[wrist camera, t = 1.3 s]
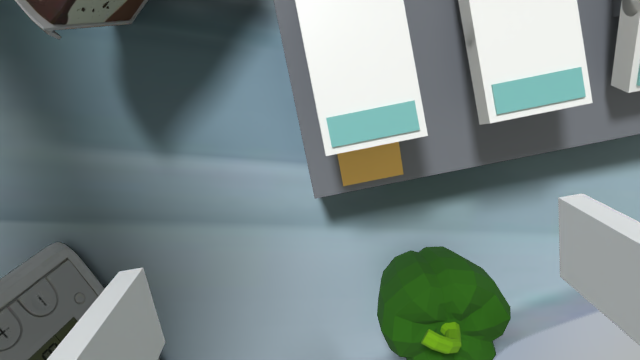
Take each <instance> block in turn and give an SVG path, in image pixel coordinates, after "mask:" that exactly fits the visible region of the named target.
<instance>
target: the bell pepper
mask: <svg viewBox="0 0 640 360" xmlns="http://www.w3.org/2000/svg"><path fill="white" fill-rule="evenodd" d="M377 316H378V320H379V323H380V327H381V331H382V333H383V335H384V337H385V339H386V341H387V343H388V345H389V347H390V349H391V350H392V351H393V352H395V353H396V354H397V355H399V356H400V357H406V359H407V360H493V358H494V357H495V355H496V352H495V347H494V344H493V340H495V339H497V338H498V337H500V336H501V335H503V333H504V331H505V329H506V327H507V325H508V323H509V321H510V318H511V317H510V306H509V304H508V303H507V301H506V300H505V298H504V296H503V295H502V293H501V292H500V290H499V288H498V287H497V285H496V284H495V282H494V281H493V280H492V278H491V277H490V276H489V275H488V274H487V273H486V272H485V271H484V270H483V269H482V268H481V267H479V266H477V265H476V264H474V263H472V262H470V261H469V260H467V259H465V258H463V257H461V256H460V255H458V254H456V253H454V252H452V251H451V250H449V249H446V248H444V247H426V248H423V249H422V250H421V251H420V252H419V253H418V252H414V251H408V252H406V253H404V254H401V255H399V256H397V257H395V258H394V259H393V260H392V261H391V263H390V264H389V265H388V266H387V268H386V269H385V270H384V271H383V275H382V278H381V285H380V292H379V299H378V311H377Z"/></svg>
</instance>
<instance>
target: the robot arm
mask: <svg viewBox="0 0 640 360" xmlns="http://www.w3.org/2000/svg"><path fill="white" fill-rule="evenodd" d="M558 202H559V251H560V277H561V278H562V279H563V280H565V281H566V282H567V283H568V284H569V285H570V286H572V287H573V288H574V289H575V290H576V291H577V292H578V293H580V294H581V295H582V296H583V297H584V298H585V299H586V300H588V301H589V302H590V303H591V304H592V305H593V306H595V307H596V308H597V309H598V310H599V311H600V312H601V313H603V314H604V315H605V316H606V317H607V318H609V319H610V320H611V321H612V322H613V323H614V324H615V325H616V326H618V327H619V328H620V329H621V330H622V331H623V332H624V333H626V334H627V335H628V336H629V337H630V338H631V339H633V340H634V341H635V342H636V343H637V344H638V345H639V346H640V222H638V221H636V220H634V219H632V218H630V217H628V216H626V215H624V214H622V213H620V212H618V211H616V210H614V209H612V208H610V207H609V206H607V205H605V204H603V203H601V202H599V201H597V200H595V199H593V198H591V197H589V196H587V195H585V194H577V195H571V196H565V197H559V198H558ZM165 343H166V342H165V339H164V335H163V332H162V329H161V325H160V322H159V319H158V315H157V312H156V309H155V305H154V302H153V299H152V295H151V292H150V288H149V285H148V282H147V278H146V275H145V272H144V268H137V269H131V270H125V271H119V272H118V273H117V275H116V276H115V277H114V278H113V280H112V281H111V282H110V283H109V284H108V286H107V287H106V288H105V289H104V290H103V292H102V293H101V294H100V295H99V297H98V298H97V299H96V300H95V301H94V303H93V304H92V305H91V306H90V308H89V309H88V310H87V311H86V312H85V314H84V315H83V316H82V317H81V318H80V320H79V321H78V322H77V323H76V325H75V326H74V327H73V328H72V329H71V331H70V332H69V333H68V334H67V336H66V337H65V338H64V339H63V340H62V342H61V343H60V344H59V345H58V346H57V348H56V349H55V350H54V351H53V353H52V354H51V355H50V356H49V357H48V359H47V360H158V358H159V356H160V354H161V351H162V349H163V347H164V345H165Z"/></svg>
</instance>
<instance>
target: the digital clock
mask: <svg viewBox="0 0 640 360" xmlns="http://www.w3.org/2000/svg"><path fill="white" fill-rule="evenodd" d="M103 290H104V287H103V286H102V285H101V284H100V282H99V281H98V280H97V278H96V277H95V276H94V275H93V273H92V272H91V271H90V270H89V268H88V267H87V266H86V265H85V263H84V262H83V261H82V260H81V259H80V257H79V256H78V255H77V254H76V253H75V252H74V251H73V250H72V249H70V248H69V247H68V246H66V245H65V244H63V243H61V242H56V243H53V244H51V245H49V246H47V247H46V248H44V249H42V250H41V251H40V252H38V253H37V254H35V255H34V256H33V257H31V258H30V259H28V260H27V261H25V262H24V263H23V264H21V265H20V266H18V267H17V268H16V269H14V270H13V271H11V272H10V273H8V274H7V275H6V276H4V277H3V278H1V279H0V360H47V359H48V357H49V356H50V355H51V354H52V353H53V351H54V350H55V349H56V348H57V346H58V345H59V344H60V343H61V342H62V340H63V339H64V338H65V337H66V336H67V334H68V333H69V332H70V331H71V329H72V328H73V327H74V326H75V325H76V323H77V322H78V321H79V320H80V318H81V317H82V316H83V315H84V314H85V312H86V311H87V310H88V309H89V308H90V306H91V305H92V304H93V303H94V301H95V300H96V299H97V298H98V297H99V295H100V294H101V293H102V292H103ZM158 360H160V359H159V358H158Z"/></svg>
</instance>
